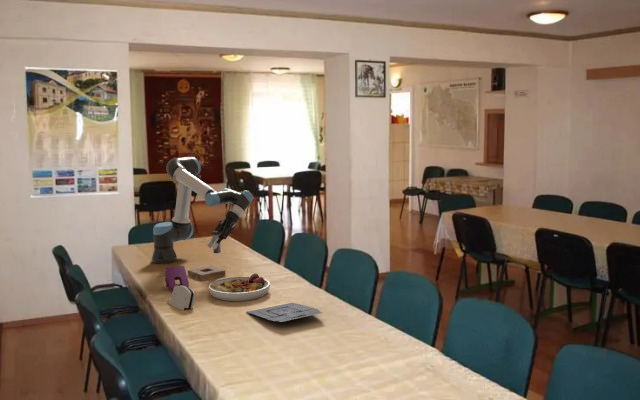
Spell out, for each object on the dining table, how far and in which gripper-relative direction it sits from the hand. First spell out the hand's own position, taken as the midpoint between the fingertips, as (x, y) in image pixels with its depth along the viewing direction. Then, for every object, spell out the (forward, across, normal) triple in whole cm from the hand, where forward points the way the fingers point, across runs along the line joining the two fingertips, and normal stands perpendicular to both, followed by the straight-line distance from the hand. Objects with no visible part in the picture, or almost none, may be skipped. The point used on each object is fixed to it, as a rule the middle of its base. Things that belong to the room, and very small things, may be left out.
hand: (211, 247), depth 324 cm
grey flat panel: (+23, -84, +1) cm, 87 cm away
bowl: (+19, -41, -4) cm, 46 cm away
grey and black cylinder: (0, 0, -5) cm, 5 cm away
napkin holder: (+40, -37, +18) cm, 57 cm away
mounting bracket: (+31, -10, +8) cm, 34 cm away
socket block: (+13, 0, -9) cm, 16 cm away
